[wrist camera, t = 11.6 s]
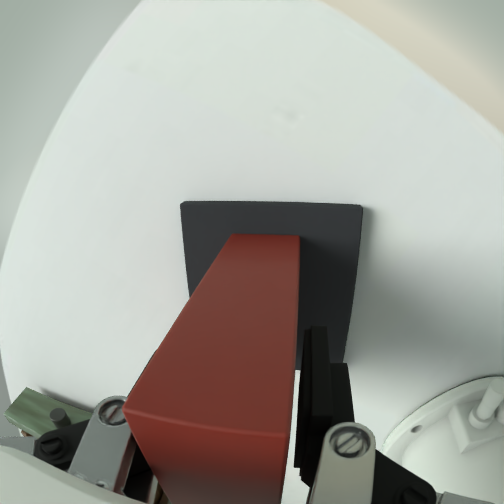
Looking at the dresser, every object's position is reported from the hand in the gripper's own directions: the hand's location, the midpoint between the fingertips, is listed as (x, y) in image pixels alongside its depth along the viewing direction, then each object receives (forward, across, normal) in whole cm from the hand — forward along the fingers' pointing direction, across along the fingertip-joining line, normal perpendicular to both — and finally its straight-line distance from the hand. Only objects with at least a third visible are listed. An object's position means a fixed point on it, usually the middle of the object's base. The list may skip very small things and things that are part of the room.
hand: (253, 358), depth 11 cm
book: (+4, 0, 0) cm, 4 cm away
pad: (+5, 0, 0) cm, 5 cm away
